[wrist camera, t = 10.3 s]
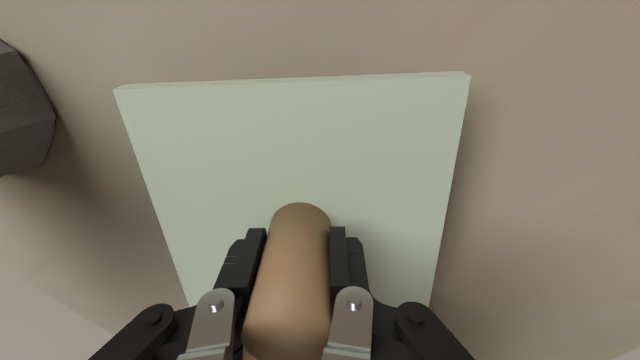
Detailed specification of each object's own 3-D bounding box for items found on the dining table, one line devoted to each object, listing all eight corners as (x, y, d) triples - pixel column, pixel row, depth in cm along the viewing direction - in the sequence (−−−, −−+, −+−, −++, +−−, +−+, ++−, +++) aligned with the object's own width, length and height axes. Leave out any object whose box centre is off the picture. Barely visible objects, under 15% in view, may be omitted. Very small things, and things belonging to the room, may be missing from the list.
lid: (461, 71, 13) (586, 128, 7) (421, 305, 19) (465, 442, 13) (126, 84, 13) (-48, 148, 7) (200, 308, 20) (144, 441, 14)
